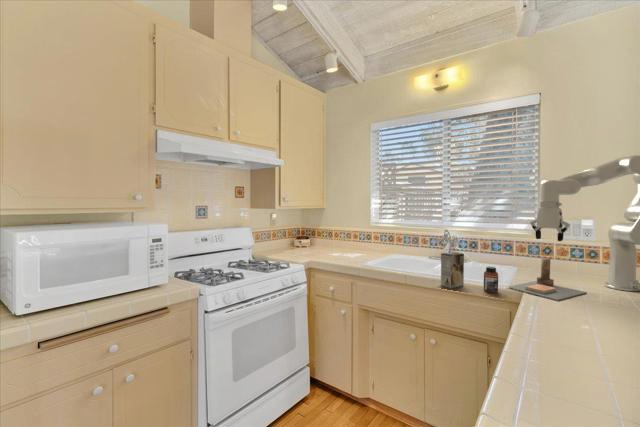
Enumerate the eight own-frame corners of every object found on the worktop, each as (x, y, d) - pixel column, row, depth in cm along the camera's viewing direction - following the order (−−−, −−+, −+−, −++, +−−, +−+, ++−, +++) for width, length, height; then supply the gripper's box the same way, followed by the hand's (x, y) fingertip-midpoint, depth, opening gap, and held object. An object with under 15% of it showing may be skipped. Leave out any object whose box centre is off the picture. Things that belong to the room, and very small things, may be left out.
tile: (556, 288, 147) (543, 290, 143) (556, 291, 147) (543, 294, 143) (537, 283, 154) (525, 286, 150) (537, 287, 154) (525, 289, 150)
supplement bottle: (486, 288, 153) (486, 265, 153) (499, 291, 149) (500, 267, 149) (481, 291, 149) (482, 267, 149) (495, 294, 145) (496, 269, 145)
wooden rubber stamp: (553, 285, 157) (554, 259, 156) (549, 286, 155) (550, 259, 155) (540, 282, 162) (541, 257, 162) (536, 283, 161) (537, 257, 160)
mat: (586, 293, 146) (586, 292, 146) (557, 301, 135) (557, 299, 135) (535, 282, 166) (535, 281, 166) (506, 288, 155) (506, 286, 155)
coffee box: (453, 283, 164) (453, 251, 163) (463, 286, 158) (464, 253, 157) (440, 285, 160) (440, 253, 159) (450, 288, 154) (451, 255, 153)
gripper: (573, 205, 152) (573, 241, 153) (535, 205, 168) (534, 237, 168) (565, 205, 149) (564, 242, 150) (526, 205, 164) (526, 238, 165)
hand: (548, 239), depth 159 cm, fingers open, 9 cm apart
